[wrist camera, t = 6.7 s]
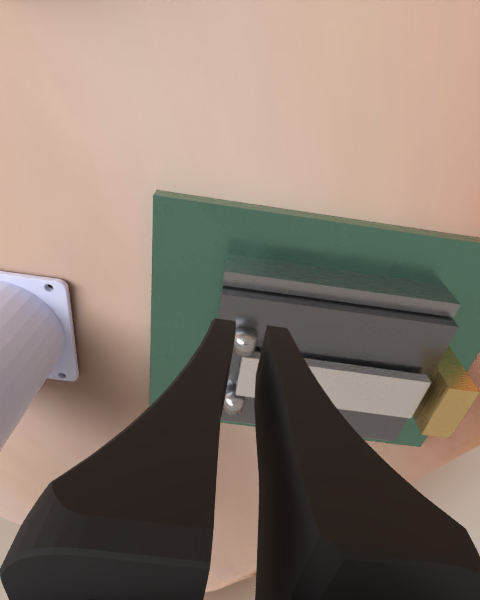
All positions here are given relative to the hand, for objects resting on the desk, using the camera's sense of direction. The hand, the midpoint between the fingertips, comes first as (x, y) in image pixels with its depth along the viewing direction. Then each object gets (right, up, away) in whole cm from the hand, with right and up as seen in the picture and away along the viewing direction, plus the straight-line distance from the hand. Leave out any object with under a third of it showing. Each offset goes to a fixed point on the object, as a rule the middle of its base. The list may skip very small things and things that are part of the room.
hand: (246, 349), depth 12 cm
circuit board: (+4, -1, +13) cm, 13 cm away
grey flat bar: (+5, -3, +10) cm, 11 cm away
